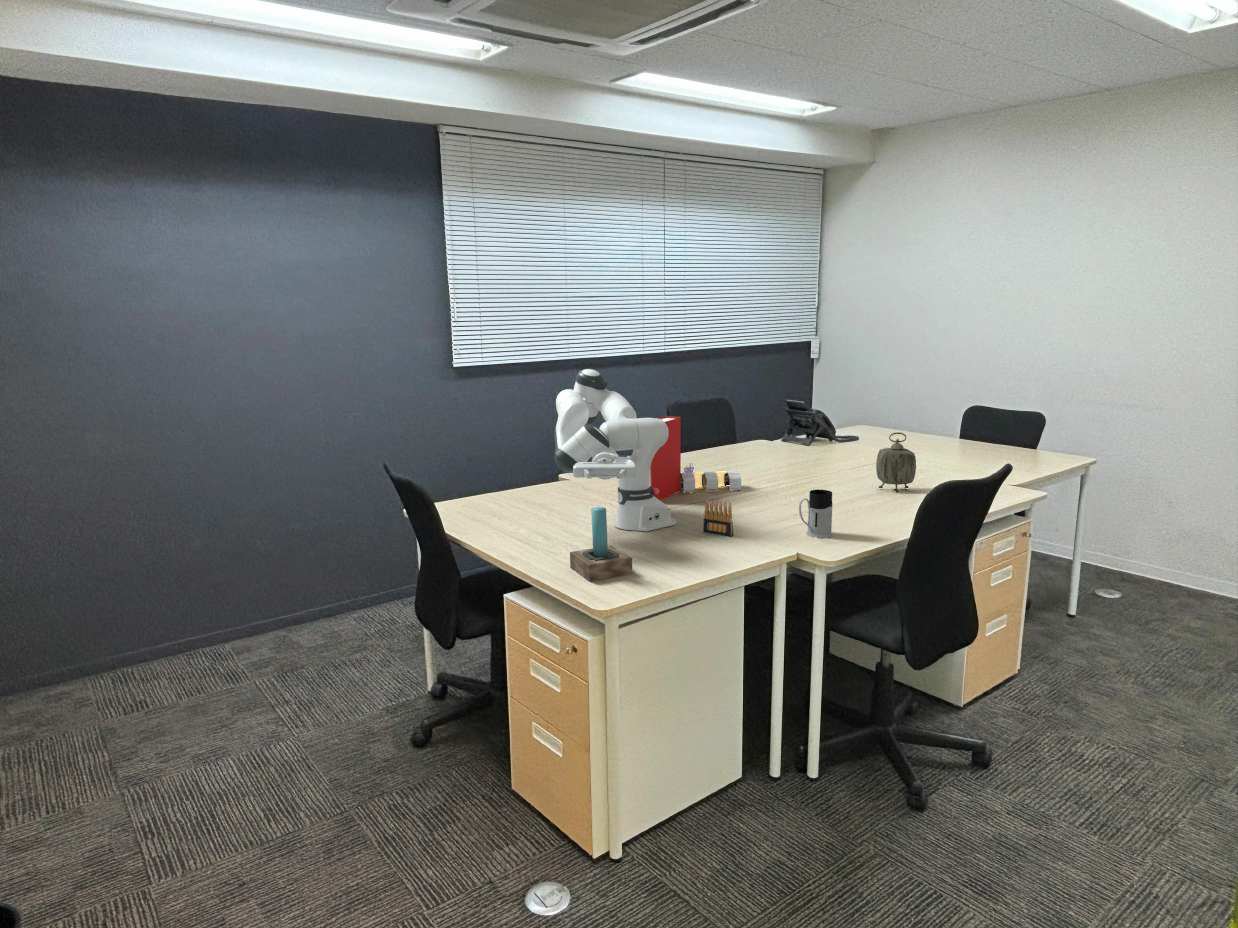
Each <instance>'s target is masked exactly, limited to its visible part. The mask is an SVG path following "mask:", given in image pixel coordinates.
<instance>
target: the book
mask: <svg viewBox="0 0 1238 928" xmlns="http://www.w3.org/2000/svg"><path fill="white" fill-rule="evenodd" d="M656 418H657V419H662V420H663V421H664V422H665V423H666V425H667V427H668V431H669V435H668V439H667V441H666V443H665V444H664V445H663V446H661V447H660V448H659V449H658V451H657V452H656V454H655V455H654V457H653V459H652V462H651V466H650V480H649V486H650V487H652V488H657V489H658V491H659V493H658V494H655V493H653V494H654V497H656V498H657V499H659V500H660V501H663V500H665V499H666V497H667V498H668V496H669V497H671V496H673V495H675V494H677V493H676V492H678V493H680V492H682V491H681V490H682V489H681V473H682V472H681V470H682V466H681V463H682V462H681V461H682V460H681V459H682V458H681V457H682V456H681V451H682V450H681V445H682V442H681V433H682V431H681V426H682V425H681V420H682V419H681V416H674V415H673V416H672V415H662V416H659V417H656ZM679 491H680V492H679ZM674 493H675V494H674ZM672 494H673V495H672ZM670 495H671V496H670Z"/></svg>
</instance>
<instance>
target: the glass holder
mask: <svg viewBox="0 0 1238 928" xmlns="http://www.w3.org/2000/svg"><path fill="white" fill-rule="evenodd" d="M808 496H809V499H807V498H802V499H801V500H800V502H799V504H798V512H799V517H800V519H801V521H802V522H803V523H804V524H805V525H806V526H807V531H806V536H807V537H810V536H811V538H814V537H817V538H816V539H827V538H826V537H829V538H831V537H830V536H832V535H833V532H832V529H833V527H832V525H833V524H832V523H833V492H832V491H831V490H828V489H812V490H810V491H809V495H808ZM804 501H806V502H807V509H808V510H807V511H808V512H807V513H808V514H807V516H808V517H807V522H806V521H805V520H804V517H803V514H802V504H803V502H804ZM832 537H833V536H832Z"/></svg>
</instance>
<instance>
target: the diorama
mask: <svg viewBox="0 0 1238 928" xmlns="http://www.w3.org/2000/svg"><path fill="white" fill-rule="evenodd" d="M688 464H689V465H687V466H686V467H683V470H684V472H681V488H684V489H682V493H683V494H687V493H686V492H696V489H700V488H699V487H707V488H705V489H706V490H705V492H706V493H713V492H712V491H718V492H719V487H718V486H726V485H730V487H728V488H729V489H728V491H729V490H740V491H741V490H742V476H741V475H740V474H741V473H740V472H739V471H738V470H726V471H725V470H722V471H720V470H719V471H696V472H695V471H694V469H695V467H694V465H693V463H691V462H690V463H688Z"/></svg>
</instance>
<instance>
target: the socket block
mask: <svg viewBox="0 0 1238 928" xmlns="http://www.w3.org/2000/svg"><path fill="white" fill-rule="evenodd" d="M569 567H570V569H571V570H572V571H574V572H575V571H576V573H577V574H579V575H580V576H581V577H582V576H583V577H582V578H584V579H585V578H586V579H587V580H586V579H585V580H586V581H588V582H589V581H590V582H595V581H594V580H596V581H600V580H604V579H605V580H606V579H612V578H617V577H622V576H628V575H633V557H632V556H630V555H628V554H627V553H625V552H623V551H622V550H620V549H619V548H616V547H615V546H613V545H608V556H605V557H599V558H595V557H593V547H592V548H587V549H586V548H585V549H580V550H574V551H570V552H569ZM611 577H612V578H611Z"/></svg>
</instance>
